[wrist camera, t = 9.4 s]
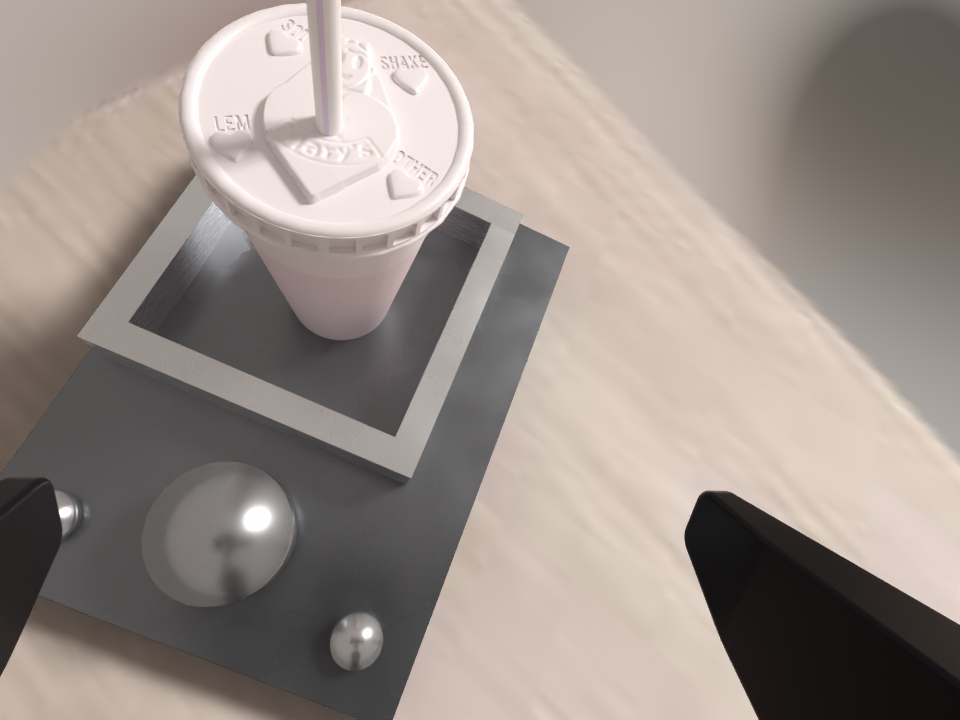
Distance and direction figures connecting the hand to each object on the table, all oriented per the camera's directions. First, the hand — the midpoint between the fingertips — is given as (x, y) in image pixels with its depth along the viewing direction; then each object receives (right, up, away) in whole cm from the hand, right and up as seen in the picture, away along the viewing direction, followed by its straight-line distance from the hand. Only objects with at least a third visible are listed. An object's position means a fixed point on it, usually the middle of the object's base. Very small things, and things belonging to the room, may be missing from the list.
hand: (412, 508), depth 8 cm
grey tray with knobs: (-5, +1, +14) cm, 15 cm away
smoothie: (-4, +5, +13) cm, 15 cm away
